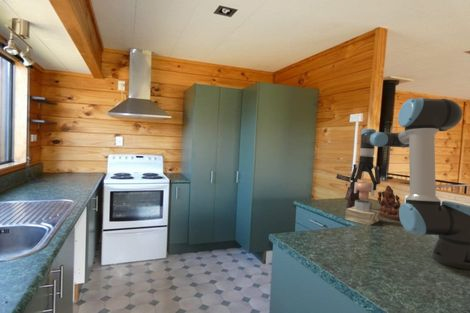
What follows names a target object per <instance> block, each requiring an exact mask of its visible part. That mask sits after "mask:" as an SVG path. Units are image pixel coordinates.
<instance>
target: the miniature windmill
mask: <svg viewBox="0 0 470 313" xmlns="http://www.w3.org/2000/svg"><path fill="white" fill-rule="evenodd" d="M359 170H360V168H359V166H358V168H357V171H356V174H357V173H358V172H359ZM362 175H363V172H362V173H361V175H360V177H359V178H358V180H357V181H356V182H359V180H360V181H361V180H362ZM350 178H351V176H348V175H347V176H346V175H342V174H339V173H337V174H336V177H335V179H337V180H341V181H345V182H349V183H350V184H349V186H348V188H347V191H346V193H345V194H346V195H345V197H344V200H346V201H347V203H346V209H348V208H351V207H354V206H355V200H361V199H360V198H359V190H357V193H354V187H353V181H352V180H350Z"/></svg>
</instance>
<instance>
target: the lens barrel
mask: <svg viewBox="0 0 470 313" xmlns="http://www.w3.org/2000/svg"><path fill="white" fill-rule="evenodd" d="M354 209H355V210H357V211H362V212H370V211H371V210H372V209H373V202H371V201H370V200H366V199H360V200H355V208H354Z"/></svg>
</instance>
